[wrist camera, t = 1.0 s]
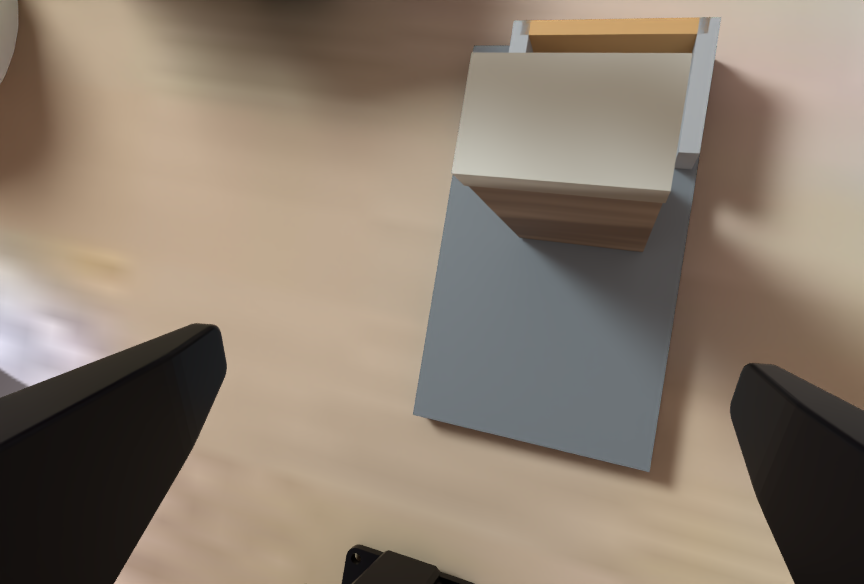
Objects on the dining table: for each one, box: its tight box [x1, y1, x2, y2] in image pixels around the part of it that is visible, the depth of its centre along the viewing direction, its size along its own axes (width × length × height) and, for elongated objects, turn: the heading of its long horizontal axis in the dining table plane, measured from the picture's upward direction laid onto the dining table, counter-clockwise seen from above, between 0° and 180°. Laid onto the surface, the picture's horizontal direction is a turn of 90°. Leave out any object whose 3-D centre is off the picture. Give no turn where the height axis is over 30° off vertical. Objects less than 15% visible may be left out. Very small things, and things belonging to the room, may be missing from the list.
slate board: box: [413, 17, 721, 472], centre depth 22 cm, size 17×10×3 cm, turn 170°
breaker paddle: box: [452, 52, 693, 252], centre depth 17 cm, size 3×5×10 cm, turn 80°
